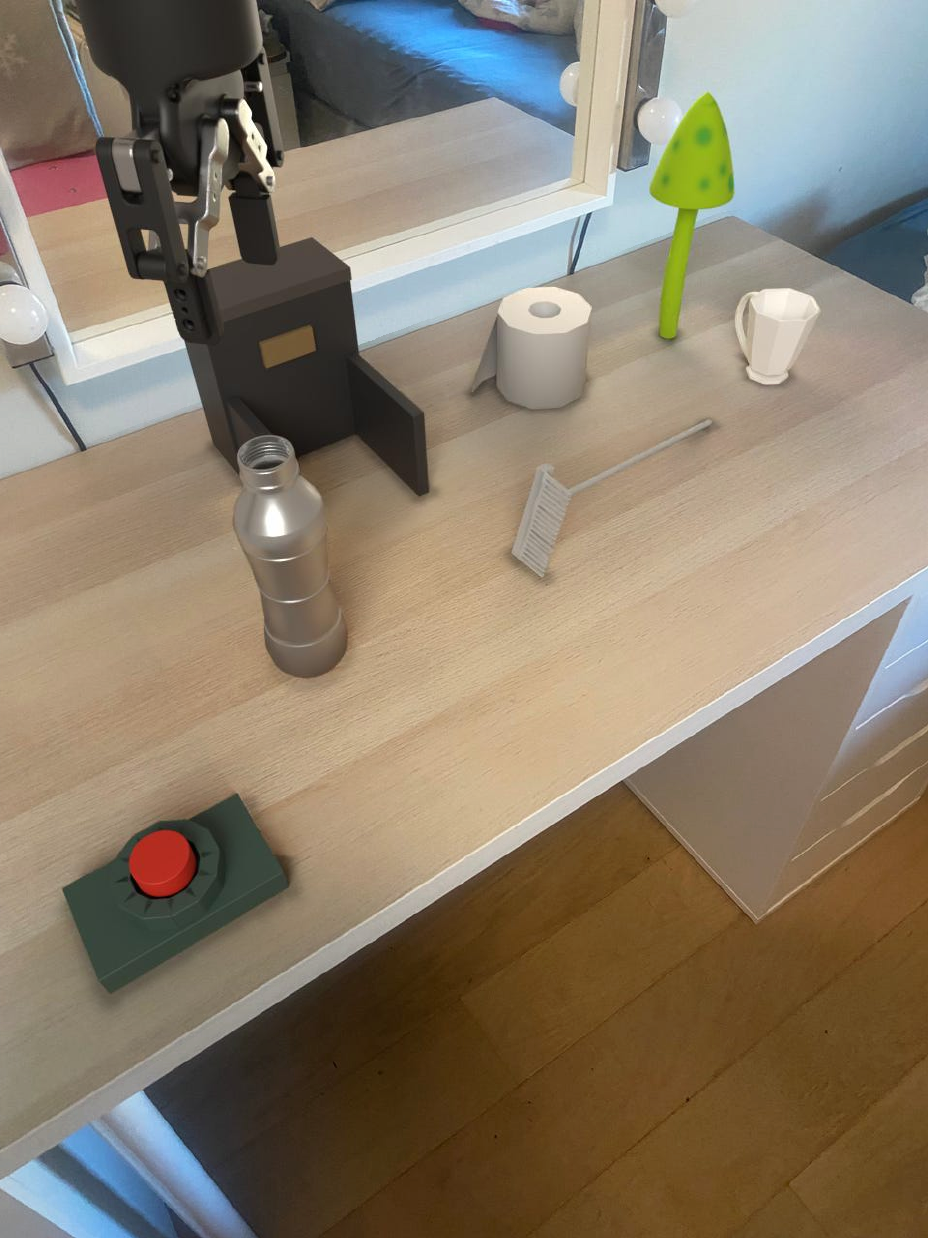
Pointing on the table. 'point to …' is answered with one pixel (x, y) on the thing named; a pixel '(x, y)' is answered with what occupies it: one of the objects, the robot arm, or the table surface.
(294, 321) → the dark box with flaps
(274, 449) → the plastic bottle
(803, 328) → the cup
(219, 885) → the control pad
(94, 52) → the robot arm
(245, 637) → the table surface
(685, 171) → the mushroom
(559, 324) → the toilet tissue
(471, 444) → the table surface
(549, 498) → the brush
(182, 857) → the stop button
